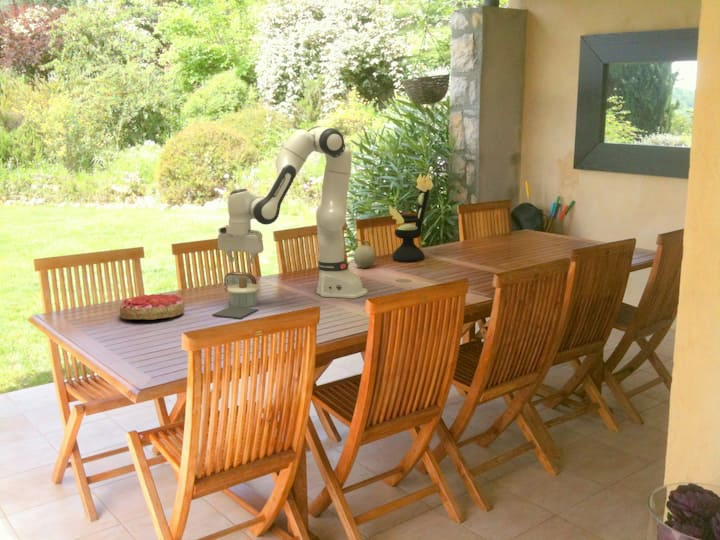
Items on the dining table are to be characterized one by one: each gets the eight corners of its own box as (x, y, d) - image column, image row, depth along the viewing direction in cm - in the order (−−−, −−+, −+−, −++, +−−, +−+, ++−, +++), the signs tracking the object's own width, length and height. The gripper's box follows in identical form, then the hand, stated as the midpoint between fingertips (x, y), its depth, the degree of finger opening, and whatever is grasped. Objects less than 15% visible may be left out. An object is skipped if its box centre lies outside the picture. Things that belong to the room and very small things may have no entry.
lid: (264, 287, 326) (264, 275, 325) (248, 294, 314) (247, 282, 313) (238, 285, 331) (237, 273, 330) (221, 292, 320) (220, 279, 319)
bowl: (262, 301, 327) (261, 288, 325) (248, 308, 317) (247, 294, 316) (239, 299, 331) (239, 285, 330) (225, 305, 321) (224, 291, 320)
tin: (257, 291, 346) (256, 272, 344) (253, 292, 343) (253, 274, 341) (227, 289, 351) (226, 270, 349) (223, 290, 348) (222, 272, 346)
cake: (151, 325, 292) (149, 304, 291) (105, 319, 305) (104, 299, 304) (197, 313, 313) (196, 294, 312) (153, 308, 326) (152, 289, 325)
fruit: (379, 266, 391) (379, 237, 388) (367, 270, 382) (367, 240, 379) (362, 264, 397) (361, 235, 394) (350, 268, 387) (349, 239, 384)
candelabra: (388, 256, 415) (387, 171, 405) (429, 254, 418) (429, 170, 408) (393, 263, 397) (393, 175, 387) (436, 261, 399) (436, 174, 389)
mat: (258, 311, 313) (258, 309, 313) (240, 319, 301) (240, 317, 301) (230, 308, 318) (230, 306, 318) (212, 316, 307) (212, 314, 306)
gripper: (265, 229, 316) (266, 262, 319) (223, 226, 324) (224, 258, 327) (257, 232, 310) (258, 265, 313) (214, 228, 318) (216, 261, 321)
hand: (241, 262), depth 320 cm, fingers open, 8 cm apart
